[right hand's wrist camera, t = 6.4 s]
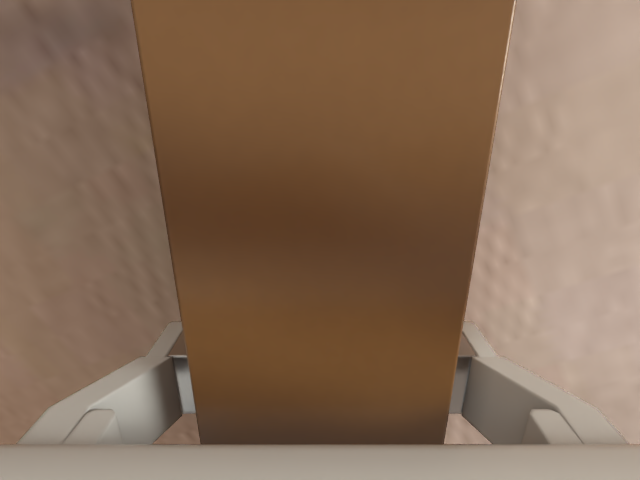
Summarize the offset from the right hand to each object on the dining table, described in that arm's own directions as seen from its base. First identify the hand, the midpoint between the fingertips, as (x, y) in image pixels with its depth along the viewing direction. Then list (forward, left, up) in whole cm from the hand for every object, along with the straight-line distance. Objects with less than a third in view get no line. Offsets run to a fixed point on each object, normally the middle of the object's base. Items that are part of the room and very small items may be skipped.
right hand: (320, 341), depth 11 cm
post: (+18, -13, -3) cm, 22 cm away
